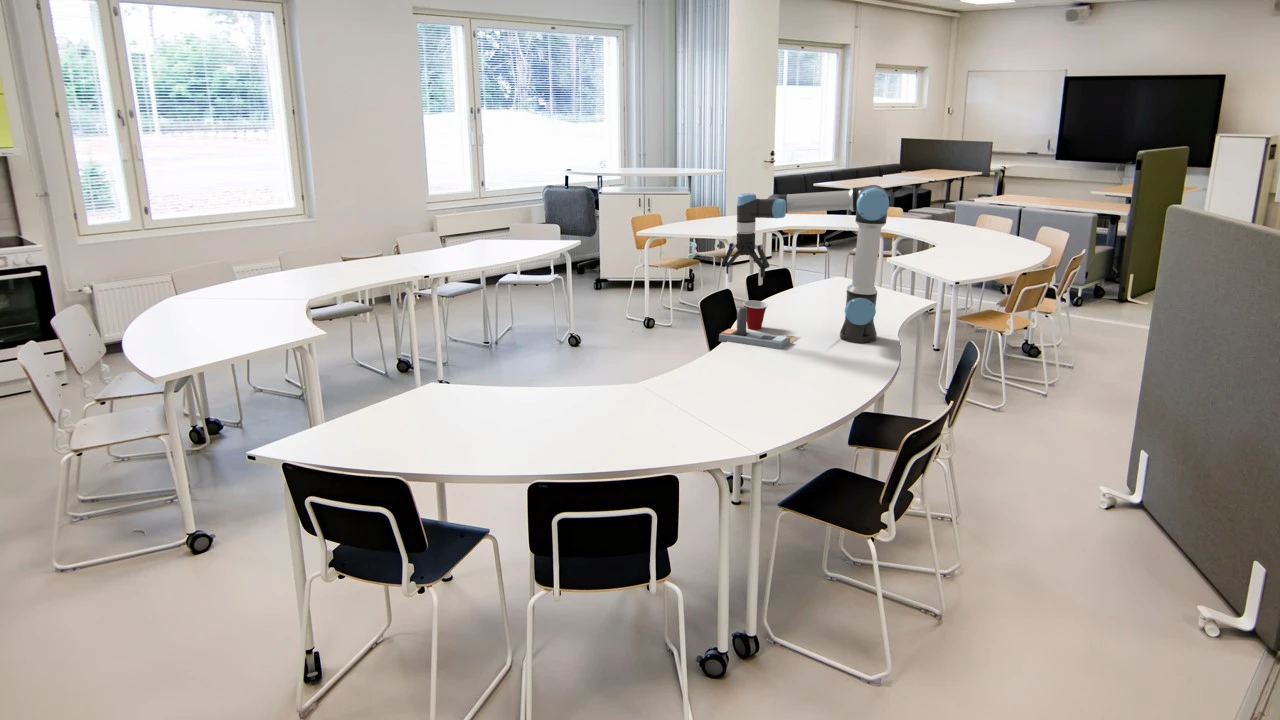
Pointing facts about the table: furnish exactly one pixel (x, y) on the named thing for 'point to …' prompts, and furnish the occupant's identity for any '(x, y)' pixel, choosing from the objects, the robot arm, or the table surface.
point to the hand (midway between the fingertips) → (745, 283)
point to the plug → (741, 321)
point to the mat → (792, 338)
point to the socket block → (755, 339)
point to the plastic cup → (755, 313)
